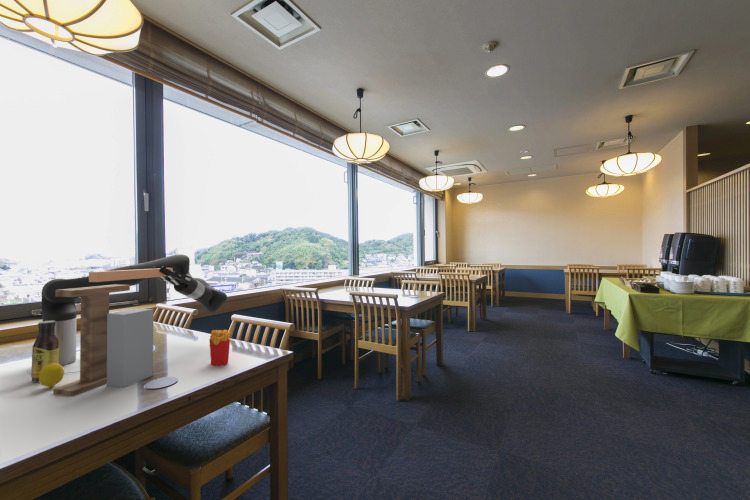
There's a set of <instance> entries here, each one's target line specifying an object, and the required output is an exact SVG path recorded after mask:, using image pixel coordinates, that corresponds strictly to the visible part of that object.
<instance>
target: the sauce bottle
mask: <svg viewBox="0 0 750 500" xmlns="http://www.w3.org/2000/svg"><path fill="white" fill-rule="evenodd" d="M55 325H56V321H43V320H41V321H39V322H38V324H37V328H38V333H37V334H38V335H37V336H36V339H35V341H34V343H33V345H32V349H31V350H32V352H31V372H30V373H31V381H32V382H33V383H40V382H39V373H40V371H41V370H42V368H43V367H45V366H46V365H48V364H50V363H52V362H53V363H57V364H59V339H58V338H57V336H56V335H55Z"/></svg>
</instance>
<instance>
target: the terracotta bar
mask: <svg viewBox="0 0 750 500" xmlns="http://www.w3.org/2000/svg"><path fill="white" fill-rule="evenodd" d="M167 269H169V270H172V271H173V268H167ZM159 270H160V268H155V269H136V270H117V271H108V270H101V271H88V276H89V282H103V281H115V280H127V279H139V278H148V279H150V278H157V277H163V276H166V275H165V274H163V273H161V272H160V271H159Z"/></svg>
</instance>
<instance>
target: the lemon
mask: <svg viewBox="0 0 750 500" xmlns="http://www.w3.org/2000/svg"><path fill="white" fill-rule="evenodd" d="M64 375H65V370H64V367H63V365H60V364H57V363H53V362H52V363H50V364H48V365H46V366H45V367H43V368H42V370H41V371H40V373H39V382H38V383H40V385H42V386H44V387H49V388H53V387H55V386H56V385H58V384H59V383H60V382H61V381H63V378H64Z"/></svg>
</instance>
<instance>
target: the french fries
mask: <svg viewBox="0 0 750 500" xmlns="http://www.w3.org/2000/svg"><path fill="white" fill-rule="evenodd" d="M230 336H231V332H230V330H228V329H214V330H213V329H212V330H211V332H210V336H209V337H210V338H209V349H210V350H209V351H210V352H209V353H210V365H211V364H212V366H215V365H217V367H222V366H221V365H224V366H226V365H225V364H227V363H228V364H229V355H230V344H231V339H230ZM228 364H227V365H228Z"/></svg>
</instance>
